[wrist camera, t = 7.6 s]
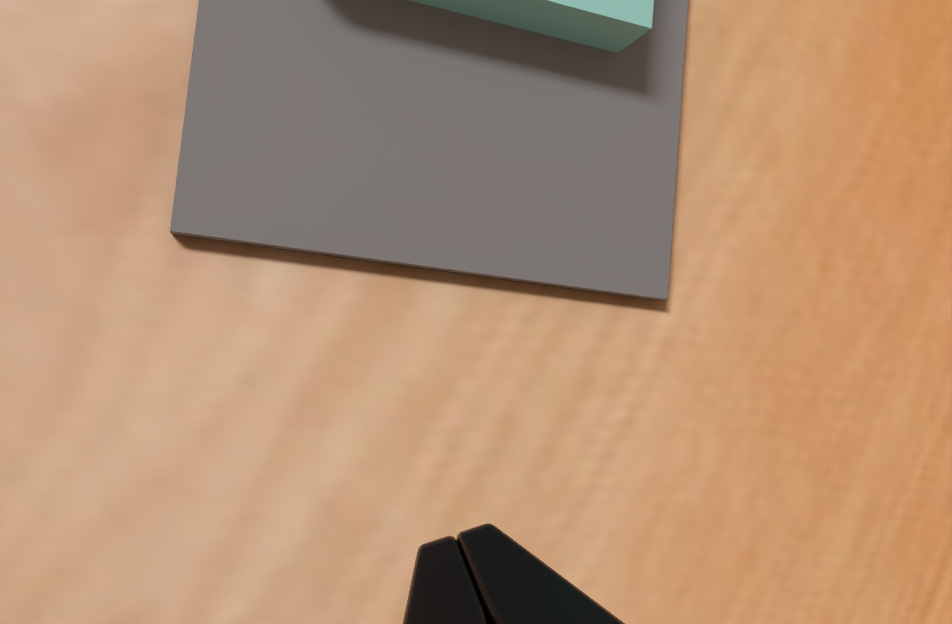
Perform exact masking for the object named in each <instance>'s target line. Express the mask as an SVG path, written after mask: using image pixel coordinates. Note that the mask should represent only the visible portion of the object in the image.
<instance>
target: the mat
mask: <svg viewBox="0 0 952 624" xmlns="http://www.w3.org/2000/svg"><path fill="white" fill-rule="evenodd" d="M687 11H688V0H654V5H653V19H652V29H650V30H649V31H647V32H646V33H645V34H643V35H642V36H641V37H639V38H638V39H636V40H635V41H634V42H632V43H631V44H629V45H628V46H627V47H625V48H624V49H623V50H621V51H620V52H618V53H616V52H612V51H608V50H604V49H600V48H596V47H592V46H588V45H584V44H580V43H576V42H572V41H568V40H564V39H560V38H556V37H552V36H548V35H544V34H540V33H536V32H532V31H528V30H524V29H520V28H516V27H512V26H508V25H504V24H501V23H497V22H493V21H489V20H485V19H481V18H477V17H473V16H469V15H465V14H461V13H457V12H453V11H449V10H445V9H441V8H437V7H433V6H429V5H425V4H421V3H417V2H413V1H409V0H199V5H198V13H197V21H196V29H195V37H194V45H193V53H192V61H191V69H190V77H189V85H188V93H187V101H186V109H185V117H184V125H183V133H182V141H181V149H180V157H179V165H178V173H177V181H176V189H175V197H174V205H173V213H172V220H171V228H170V232H171V234H177V235H185V236H192V237H199V238H206V239H214V240H221V241H228V242H236V243H243V244H250V245H258V246H265V247H272V248H280V249H287V250H294V251H302V252H309V253H316V254H323V255H331V256H338V257H345V258H353V259H360V260H367V261H375V262H382V263H389V264H397V265H404V266H411V267H418V268H426V269H433V270H440V271H448V272H455V273H462V274H470V275H477V276H484V277H492V278H499V279H506V280H514V281H521V282H528V283H535V284H543V285H550V286H557V287H565V288H572V289H579V290H587V291H594V292H601V293H609V294H616V295H623V296H630V297H638V298H645V299H652V300H667V299H668V286H669V272H670V257H671V243H672V228H673V214H674V200H675V185H676V171H677V156H678V142H679V127H680V113H681V98H682V84H683V69H684V55H685V40H686V26H687Z"/></svg>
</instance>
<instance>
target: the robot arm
mask: <svg viewBox="0 0 952 624" xmlns="http://www.w3.org/2000/svg"><path fill="white" fill-rule="evenodd" d="M403 624H625V623H623V622H622V621H621V620H619V619H618V618H617V617H615V616H614V615H613V614H611V613H610V612H609V611H607V610H606V609H605V608H603V607H602V606H601V605H599V604H598V603H597V602H595V601H594V600H593V599H591V598H590V597H589V596H587V595H586V594H585V593H583V592H582V591H581V590H579V589H578V588H577V587H575V586H574V585H573V584H571V583H570V582H569V581H567V580H566V579H565V578H563V577H562V576H561V575H559V574H558V573H557V572H555V571H554V570H553V569H551V568H550V567H549V566H547V565H546V564H545V563H543V562H542V561H541V560H539V559H538V558H537V557H535V556H534V555H533V554H531V553H530V552H529V551H527V550H526V549H525V548H523V547H522V546H521V545H519V544H518V543H517V542H515V541H514V540H513V539H511V538H510V537H509V536H507V535H506V534H505V533H503V532H502V531H501V530H499V529H498V528H497V527H495V526H494V525H492V524H484V525H480V526H477V527H474V528H471V529H468V530H465V531H462V532H460V533H459V534H458V536H457V541H456V539H455V538H454V537H452V536H447V537H444V538H441V539H438V540H435V541H432V542H429V543H426V544H423V545H421V546H420V547H419V549H418V552H417V556H416V561H415V566H414V571H413V576H412V581H411V586H410V591H409V596H408V600H407V605H406V610H405V615H404V620H403Z"/></svg>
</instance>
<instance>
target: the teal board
mask: <svg viewBox="0 0 952 624" xmlns="http://www.w3.org/2000/svg"><path fill="white" fill-rule="evenodd" d="M409 1H413V2H417V3H421V4H425V5H429V6H433V7H437V8H441V9H445V10H449V11H453V12H457V13H461V14H465V15H469V16H473V17H477V18H481V19H485V20H489V21H493V22H497V23H501V24H504V25H508V26H512V27H516V28H520V29H524V30H528V31H532V32H536V33H540V34H544V35H548V36H552V37H556V38H560V39H564V40H568V41H572V42H576V43H580V44H584V45H588V46H592V47H596V48H600V49H604V50H608V51H612V52H616V53H618V52H620V51H621V50H623V49H624V48H625V47H627V46H628V45H629V44H631V43H632V42H634V41H635V40H636V39H638V38H639V37H641V36H642V35H643V34H645V33H646V32H647V31H649V30H650V29H652V19H653V5H654V0H409Z"/></svg>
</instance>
